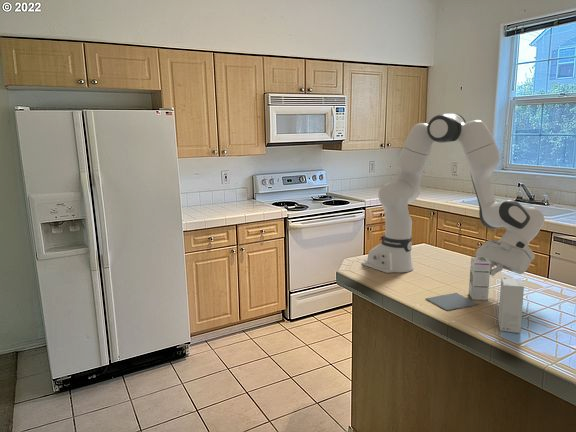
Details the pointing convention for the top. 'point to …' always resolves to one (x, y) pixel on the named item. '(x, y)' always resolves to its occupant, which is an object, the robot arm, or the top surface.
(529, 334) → the top surface
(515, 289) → the skincare box
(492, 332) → the top surface
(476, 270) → the syrup box
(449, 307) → the mat
